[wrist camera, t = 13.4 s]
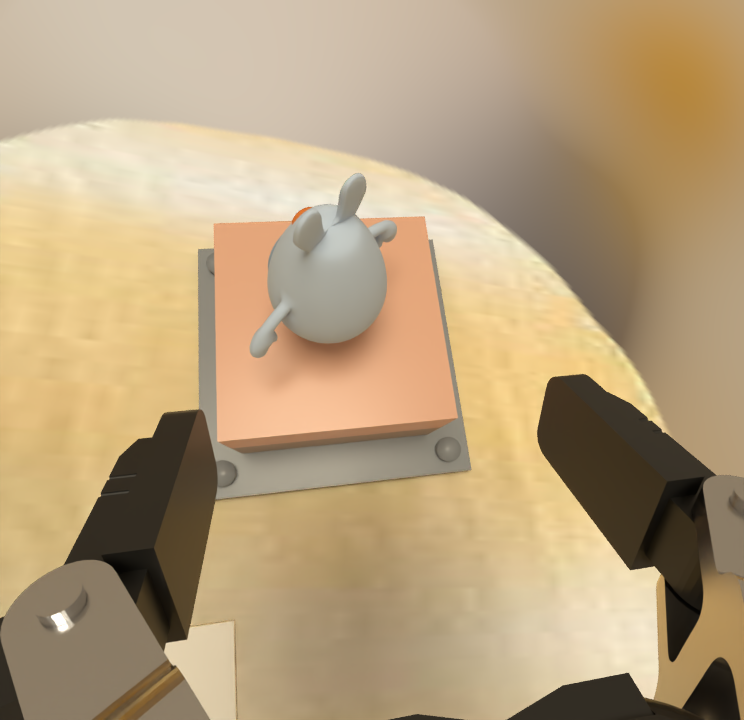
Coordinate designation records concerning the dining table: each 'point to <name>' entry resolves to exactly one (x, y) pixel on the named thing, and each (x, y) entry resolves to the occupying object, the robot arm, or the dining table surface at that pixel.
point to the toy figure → (326, 273)
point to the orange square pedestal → (325, 375)
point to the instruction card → (209, 666)
